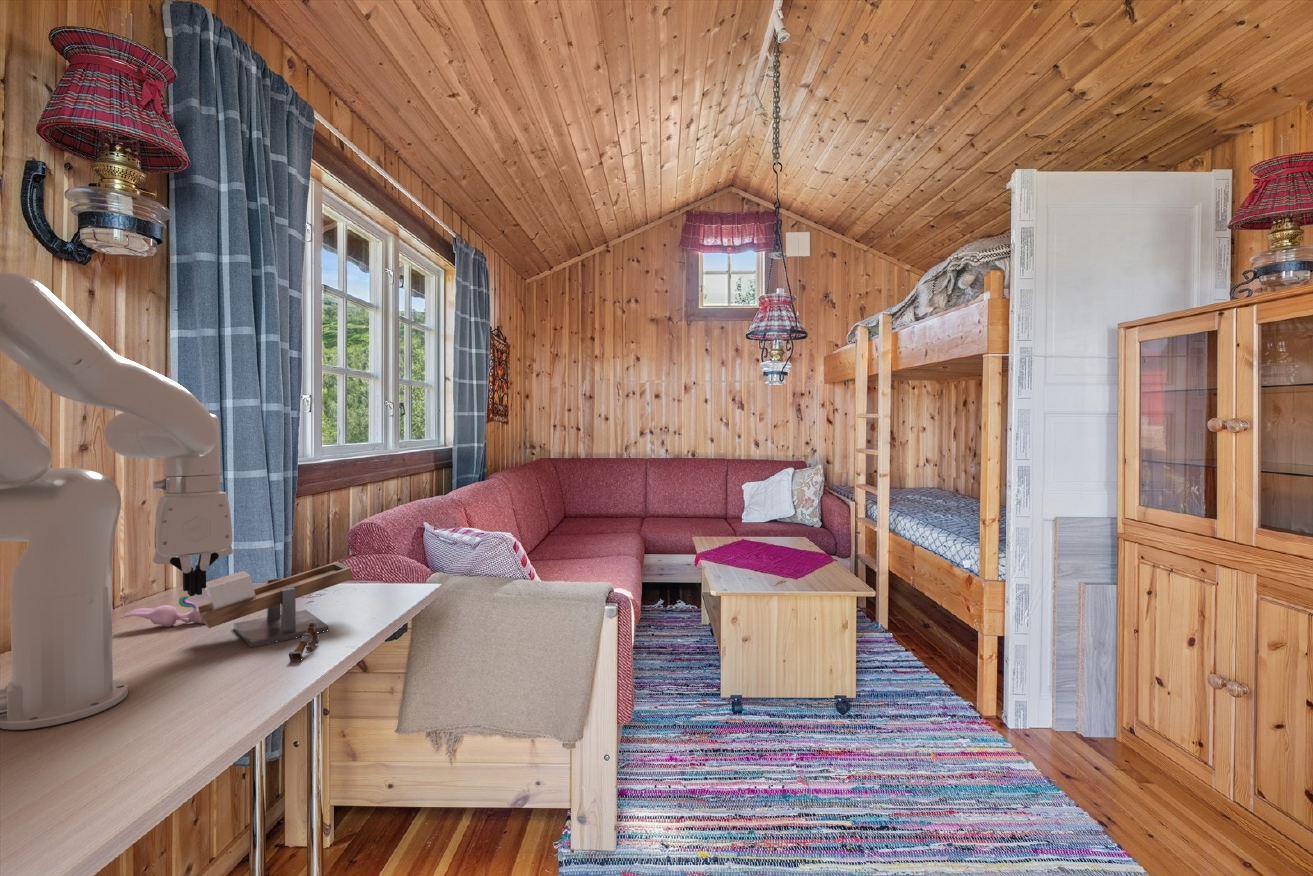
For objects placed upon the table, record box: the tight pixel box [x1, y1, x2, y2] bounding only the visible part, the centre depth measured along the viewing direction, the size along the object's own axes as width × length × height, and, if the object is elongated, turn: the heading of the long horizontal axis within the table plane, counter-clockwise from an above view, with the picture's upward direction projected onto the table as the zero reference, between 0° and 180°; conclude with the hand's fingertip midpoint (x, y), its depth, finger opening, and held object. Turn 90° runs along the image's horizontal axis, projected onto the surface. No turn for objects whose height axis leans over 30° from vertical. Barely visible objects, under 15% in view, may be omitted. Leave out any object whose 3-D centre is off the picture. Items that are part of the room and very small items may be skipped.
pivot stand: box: [233, 577, 330, 648], centre depth 111 cm, size 12×14×8 cm
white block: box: [204, 570, 256, 612], centre depth 106 cm, size 6×5×5 cm
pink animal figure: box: [120, 595, 206, 628], centre depth 114 cm, size 6×6×15 cm
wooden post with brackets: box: [287, 621, 320, 662], centre depth 100 cm, size 2×8×4 cm, turn 7°
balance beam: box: [197, 561, 354, 629], centre depth 111 cm, size 23×8×2 cm, turn 135°
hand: (194, 593), depth 102 cm, fingers closed
